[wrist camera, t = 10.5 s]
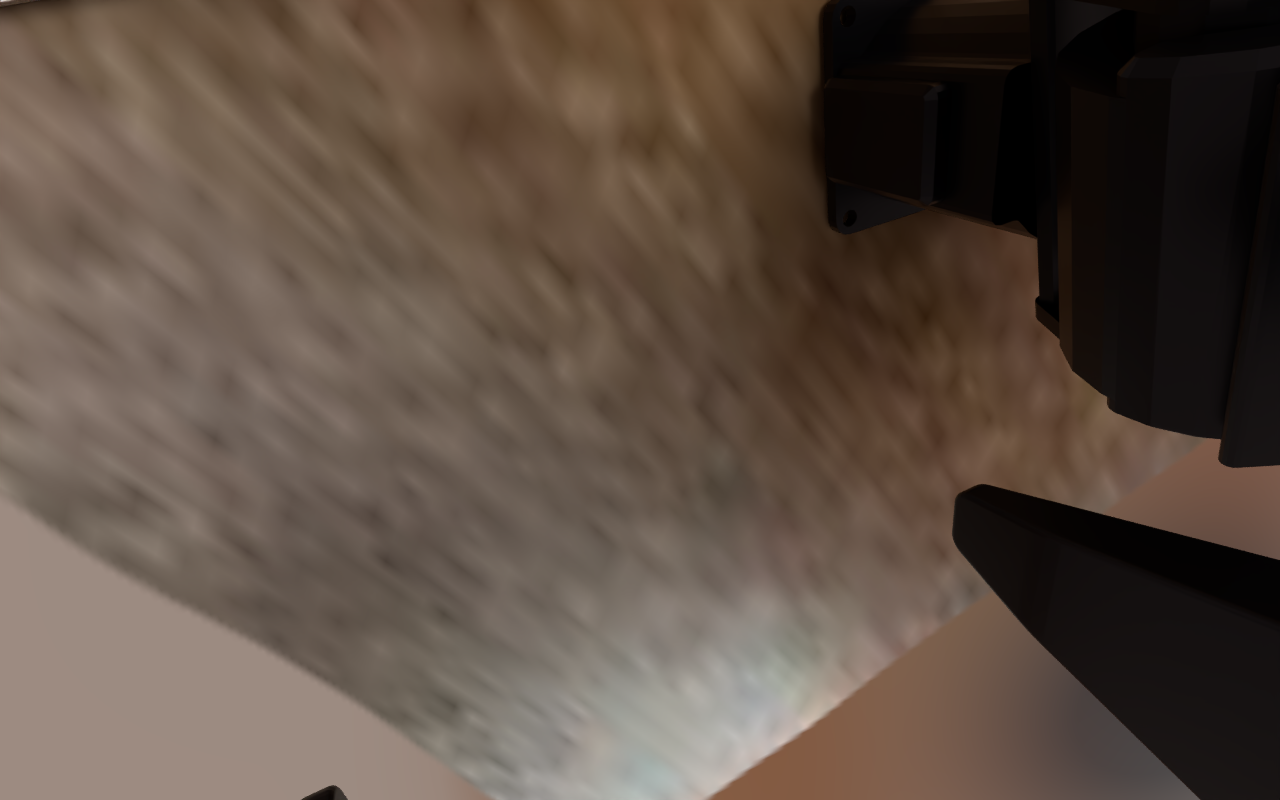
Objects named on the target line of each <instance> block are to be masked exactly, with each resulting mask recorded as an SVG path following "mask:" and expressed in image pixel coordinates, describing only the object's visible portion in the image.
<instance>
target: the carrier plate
mask: <svg viewBox="0 0 1280 800" xmlns="http://www.w3.org/2000/svg"><path fill="white" fill-rule="evenodd" d="M33 1H39V0H0V7H2V6H8V5H14V4H20V3H27V2H33Z"/></svg>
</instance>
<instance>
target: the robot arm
mask: <svg viewBox="0 0 1280 800" xmlns="http://www.w3.org/2000/svg"><path fill="white" fill-rule="evenodd" d="M843 8H844V9H845V10H846V14H847V16H846V21H845V23H844V24H843V25H842V24H841V21H840V15H841V12H842V10H843ZM823 33H824V71H825V88H824V123H825V160H826V175H827V186H828V221H829V225H830V227H831V228H832V230H834V231H837V232H839V233H842V234H852V233H855V232H858V231H861V230H864V229H867V228H870V227H873V226H876V225H879V224H882V223H885V222H888V221H891V220H895V219H898V218H901V217H904V216H907V215H910V214H913V213H916V212H919V211H922V210H925V209H928V210H931V211H935V212H939V213H942V214H946V215H950V216H953V217H957V218H961V219H964V220H968V221H972V222H975V223H979V224H983V225H986V226H990V227H994V228H997V229H1001V230H1005V231H1008V232H1012V233H1016V234H1019V235H1023V236H1027V237H1030V238H1034V239H1037V245H1038V272H1039V296H1038V297H1037V298H1036V300H1035V308H1036V318H1037V320H1038V321H1040V322H1041V323H1042V324H1043V325H1044V326H1045V327H1046V328H1047V329H1049V330H1050V331H1051V332H1052V333H1053V334H1054V335H1055V336H1056V337H1057V338H1059V339H1060V347H1061V349H1062V351H1063V353H1064V355H1065V357H1066V359H1067V361H1068V363H1069V365H1070V367H1071V369H1072V371H1073V372H1075V373H1076V374H1077V375H1078V376H1080V377H1081V378H1082V379H1084V380H1085V381H1086V382H1087V383H1089V384H1090V385H1091V386H1092V387H1094V388H1095V389H1096V390H1097V391H1099V392H1100V393H1101V394H1103V395H1105V396H1107V405H1108V407H1109V409H1111V410H1112V411H1113V412H1115V413H1117V414H1120V415H1122V416H1125V417H1127V418H1130V419H1133V420H1135V421H1138V422H1140V423H1143V424H1145V425H1148V426H1151V427H1155V428H1159V429H1163V430H1168V431H1172V432H1176V433H1181V434H1185V435H1189V436H1194V437H1203V438H1213V439H1221V444H1220V450H1219V457H1218V460H1219V461H1220V462H1221V464H1223V465H1225V466H1228V467H1232V468H1241V467H1256V466H1273V465H1280V0H831V1H830V2H829V3H828V4H827V7H826V9H825V11H824V18H823ZM847 211H848V212H849V215H848V218H847V220H846V221H845V222H844V223H843V218H844V215H845V213H846V212H847ZM952 536H953V540H954V543H955V545H956V547H957V548H958V550H959V551H960V552H961V554H962V555H963V556H964V557H965V558H966V559H967V561H968V562H969V563H970V564H971V565H972V566H973V568H974V569H975V570H976V571H977V572H978V574H979V575H980V576H981V577H982V578H983V579H984V581H985V582H986V583H987V584H988V585H989V586H990V588H991V589H992V590H993V591H994V592H995V593H996V595H997V596H998V597H999V598H1000V599H1001V601H1002V602H1003V603H1004V604H1005V605H1006V606H1007V608H1008V609H1009V610H1010V611H1011V612H1012V613H1013V615H1014V616H1015V617H1016V618H1017V619H1018V620H1019V621H1020V623H1021V624H1022V625H1023V626H1024V627H1025V628H1026V629H1027V630H1028V631H1029V632H1030V633H1031V634H1032V636H1033V637H1034V638H1036V640H1037V641H1038V642H1039V643H1040V644H1041V645H1042V646H1043V647H1044V648H1045V649H1046V650H1047V651H1048V652H1049V653H1051V654H1052V655H1053V656H1054V657H1055V658H1056V659H1057V660H1058V661H1059V662H1060V663H1061V664H1062V665H1063V666H1064V667H1065V668H1066V669H1067V670H1068V671H1069V672H1070V673H1071V674H1072V675H1073V676H1074V677H1075V678H1076V679H1077V680H1078V681H1079V682H1080V683H1081V684H1082V685H1083V686H1084V687H1085V688H1086V689H1087V690H1088V691H1090V693H1092V694H1093V695H1094V696H1095V697H1096V698H1097V699H1098V700H1099V701H1100V702H1101V703H1102V704H1103V705H1104V706H1105V707H1106V708H1107V709H1108V710H1109V711H1110V712H1111V713H1112V714H1113V715H1114V716H1115V717H1116V718H1117V719H1118V720H1119V721H1120V722H1121V723H1122V724H1123V725H1124V726H1125V727H1126V728H1127V729H1128V730H1130V731H1131V733H1133V734H1134V735H1135V736H1136V737H1137V738H1138V739H1139V740H1140V741H1141V742H1142V743H1143V744H1144V745H1145V746H1146V747H1147V748H1148V749H1149V750H1150V751H1151V752H1152V753H1153V754H1154V755H1155V756H1156V757H1157V758H1158V759H1159V760H1160V761H1161V762H1162V763H1163V764H1164V765H1165V766H1166V767H1167V768H1168V769H1169V770H1170V771H1171V772H1172V773H1174V774H1175V775H1176V776H1177V777H1178V778H1179V779H1180V780H1181V781H1182V782H1183V783H1184V784H1185V785H1186V786H1187V787H1188V788H1189V789H1190V790H1191V791H1192V792H1193V793H1194V794H1195V795H1196V796H1197V797H1198V798H1199V799H1200V800H1280V560H1277V559H1273V558H1269V557H1265V556H1262V555H1258V554H1254V553H1250V552H1246V551H1242V550H1238V549H1234V548H1231V547H1227V546H1223V545H1219V544H1215V543H1211V542H1207V541H1203V540H1200V539H1196V538H1192V537H1188V536H1184V535H1180V534H1177V533H1173V532H1168V531H1165V530H1161V529H1157V528H1153V527H1149V526H1146V525H1141V524H1138V523H1134V522H1130V521H1126V520H1122V519H1119V518H1115V517H1111V516H1107V515H1103V514H1099V513H1095V512H1091V511H1088V510H1084V509H1080V508H1076V507H1072V506H1068V505H1064V504H1061V503H1057V502H1053V501H1049V500H1045V499H1041V498H1037V497H1033V496H1030V495H1026V494H1022V493H1018V492H1014V491H1010V490H1006V489H1003V488H999V487H995V486H991V485H986V484H979V485H976V486H973V487H971V488H969V489H967V490H965V491H963V492H961V493H959V494H958V495H957V497H956V499H955V506H954V517H953V529H952ZM302 800H348V799H347V798H346V796H345V795H344V793H343V792H342V790H341V789H340V788H338V787H337V786H334V785H332V786H328V787H326V788H324V789H322V790H320V791H318V792H316V793H313V794H311V795H309V796H307V797H305V798H303V799H302Z"/></svg>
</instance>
